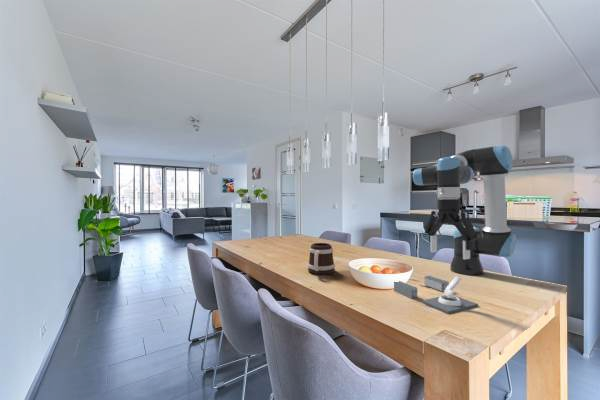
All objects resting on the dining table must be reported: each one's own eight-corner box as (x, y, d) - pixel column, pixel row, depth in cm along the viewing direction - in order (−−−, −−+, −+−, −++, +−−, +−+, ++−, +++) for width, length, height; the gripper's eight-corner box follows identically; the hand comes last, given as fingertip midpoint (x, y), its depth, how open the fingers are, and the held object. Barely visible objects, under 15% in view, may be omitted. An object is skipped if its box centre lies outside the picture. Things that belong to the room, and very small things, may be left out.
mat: (451, 296, 110) (450, 294, 110) (478, 306, 99) (478, 303, 99) (421, 302, 103) (421, 300, 103) (447, 313, 93) (447, 311, 93)
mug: (311, 267, 158) (311, 241, 158) (337, 269, 153) (337, 242, 153) (301, 276, 139) (301, 247, 139) (330, 279, 134) (329, 249, 134)
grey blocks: (429, 284, 125) (429, 275, 125) (448, 291, 115) (448, 281, 115) (393, 290, 116) (393, 281, 116) (411, 298, 107) (411, 288, 107)
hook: (479, 291, 97) (466, 282, 96) (458, 316, 99) (444, 307, 97) (465, 281, 104) (452, 272, 103) (445, 304, 106) (432, 296, 104)
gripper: (415, 198, 111) (415, 250, 111) (474, 199, 88) (475, 263, 88) (428, 198, 114) (428, 248, 114) (489, 198, 91) (490, 261, 91)
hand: (449, 255), depth 101 cm, fingers open, 13 cm apart
